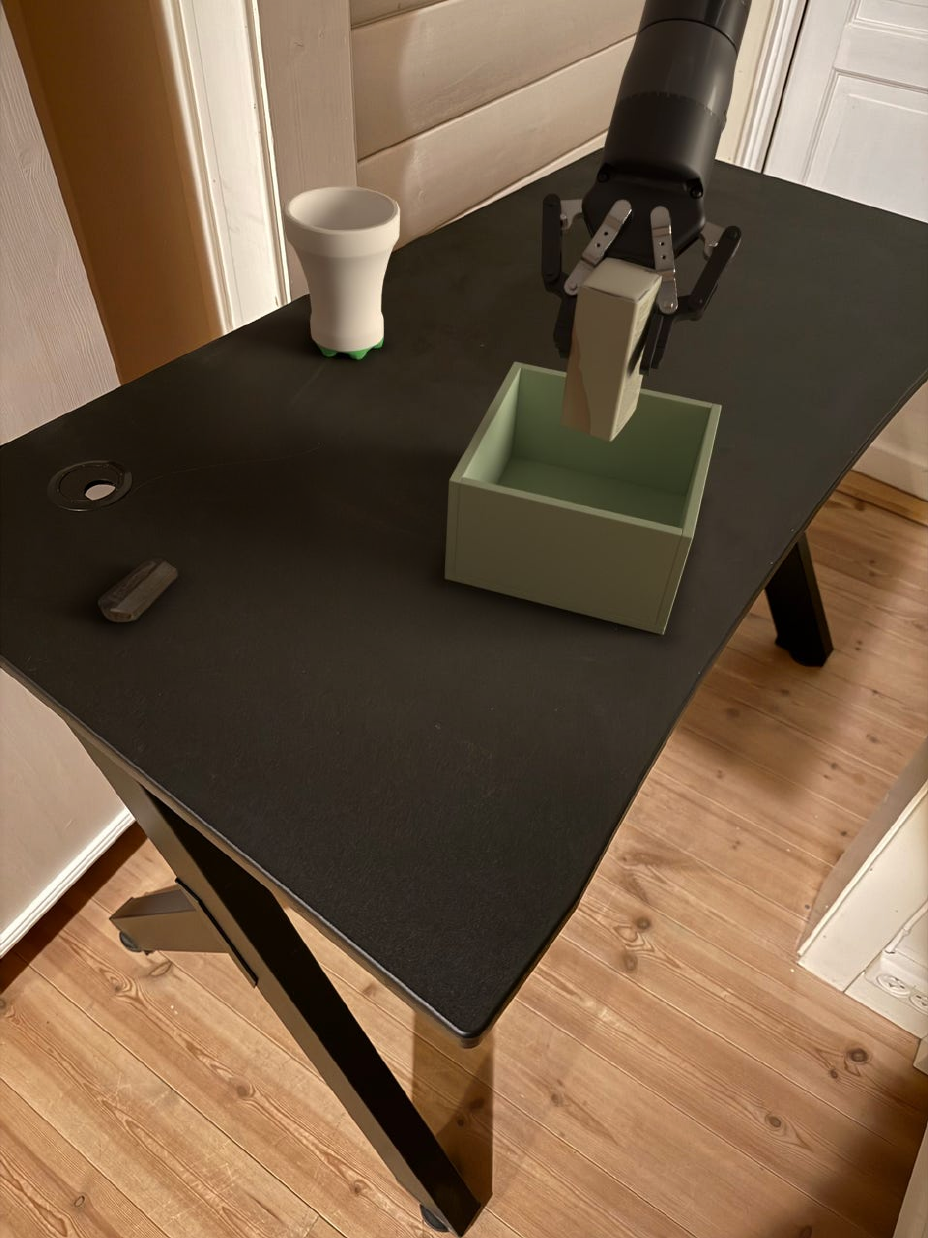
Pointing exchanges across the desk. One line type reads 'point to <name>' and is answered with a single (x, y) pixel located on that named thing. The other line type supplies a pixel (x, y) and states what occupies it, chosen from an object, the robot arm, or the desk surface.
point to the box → (608, 347)
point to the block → (137, 590)
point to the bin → (580, 502)
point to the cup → (343, 262)
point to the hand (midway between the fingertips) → (604, 363)
